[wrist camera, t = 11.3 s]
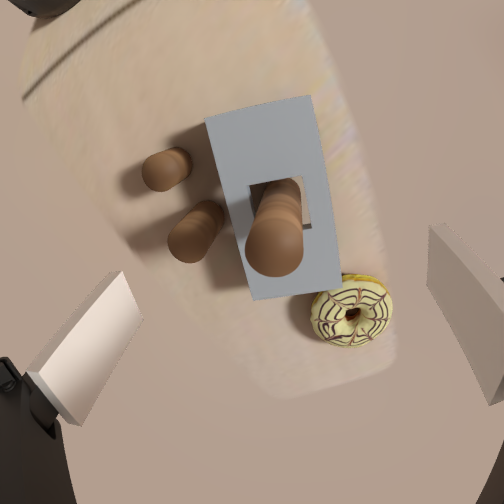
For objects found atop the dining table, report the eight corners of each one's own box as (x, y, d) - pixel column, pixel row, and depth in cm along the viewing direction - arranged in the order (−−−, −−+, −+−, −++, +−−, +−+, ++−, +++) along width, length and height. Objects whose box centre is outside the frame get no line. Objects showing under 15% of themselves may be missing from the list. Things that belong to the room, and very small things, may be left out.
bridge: (216, 117, 32) (204, 118, 28) (307, 97, 30) (310, 94, 26) (258, 278, 40) (253, 300, 35) (337, 266, 38) (342, 287, 33)
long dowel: (261, 180, 35) (238, 229, 21) (296, 173, 34) (298, 218, 20) (268, 214, 36) (251, 281, 23) (303, 208, 35) (307, 272, 22)
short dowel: (156, 152, 35) (137, 159, 30) (187, 143, 34) (171, 149, 29) (165, 184, 36) (148, 195, 32) (196, 176, 35) (182, 186, 31)
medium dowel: (187, 204, 37) (162, 229, 30) (219, 197, 36) (200, 221, 29) (197, 235, 38) (175, 265, 31) (228, 229, 38) (211, 259, 30)
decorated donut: (307, 334, 43) (307, 352, 40) (313, 266, 39) (314, 282, 35) (378, 335, 42) (383, 353, 38) (393, 269, 37) (401, 284, 34)
